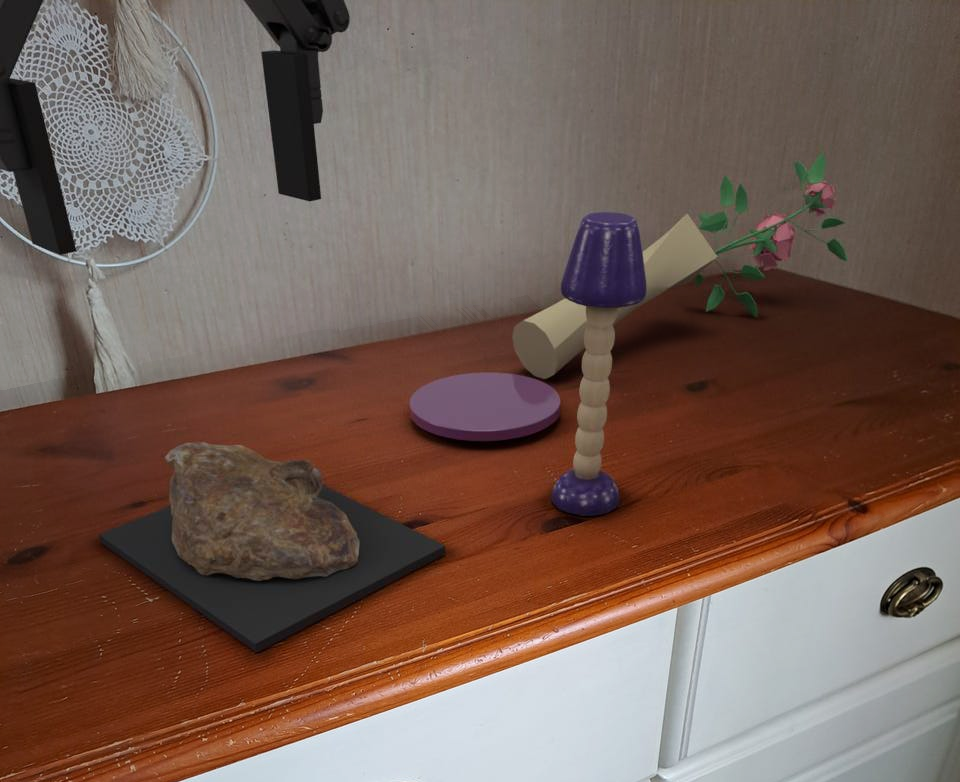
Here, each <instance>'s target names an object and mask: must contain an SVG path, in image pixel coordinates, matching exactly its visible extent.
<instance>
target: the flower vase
mask: <svg viewBox="0 0 960 782" xmlns="http://www.w3.org/2000/svg"><path fill="white" fill-rule="evenodd" d="M793 163H794V167H795V172H796V176H797V178H798V180H799V183H800V187H801V189H802V193H803V195H802V196H803V197H804V200H803V204H802V208H801V209H799V210H798V211H796V212H795V213H793V214H791V215H789V216H787V215H786V214H779V213H777V212H776V211H773V215H772V216H771V217H770V215H769V214H768V213H766V214H765V215H764V216H763V219H762V220H761V221H760V222H757V223H755V225H756V229H749V232H750V234H748V235H746V236H743V237H741V238H739V239H737V240H735V241H732V242H731V240H732V231H733V228H734V225H735V222H736V220H737V219H738V217H739V216H740V215H741V214H742V213H744V212H746V211H747V210H748V209H749V201H748V195H747V191H746V189H745V187H743V185H742V183H741V182H740V183H739V185H738V188H737V190H736V193H735V192H734V187H733V183H732V182H731V181H730V179H729V178H728V176H727V175H726V174H723V178H722V181H721V184H720V191H719V192H720V194H719V195H720V197H719V198H720V206H722V207H725V209H724V210H725V211H720V212H716V213H715V214H713V215H712V214H710V213H697V216H698V218H699V220H700V222H701V225H700V226H699V227H698V226H697V224H696V223H695V222H694V221H693V219H692V218H691V216H690V215H689V214H688V213H686V214H684V215H683V216H682V218H680V220H678V221H677V222H676V224H674V225H673V226H672V228H671V229H669V230H668V231H667V232H666V233H665V234H664V235H662V236H661V237H660V238H658V239H657V240H656V241H655V242H653V243H652V244H651V245H649V247H647V248H646V249H645V250H642V252H643V261H644V269H645V276H646V296H645V297H644V299H643V300H642V301H641V302H639V303H638V304H635V305H630V306H626V307H621V308H618V310H617V317H616V320H615V322H614V323H613V327H614V326H615V325H617V324H618V323H620V321H622V320H623V319H624V318H626V317H627V316H628V315H629V314H631V312H633V311H635V310H637V308H639V307H641V306H642V305H644V304H646V303H648V302H650V301H651V300H653V299H654V298H656V297H658V296H659V295H661V294H663V293H665V292H666V291H668V290H672V289H675V288H678V287H681V286H686V285H688V284H690V283H691V282H692V281H693V283H694V285H695V287H696V288H698V287H699V286H700V285H701V284H703V283H704V276H703V274H701V273H702V272H703V271H704V270H705V269H706V268H707V267H708V266H710V264H712V263H713V262H715V263H716V264H717V265H718V266H719V268H720V269H721V270H722V272H723V274H724V277H723V278H722V280H721V282H720V284H719V285H718V284H714V285H713V288H712V290H711V293H710V295H709V297H708V298H707V304H706V309H705V312H706V313H707V312H709V311H712V310H713V309H716V308H717V307H719V305H720V304H721V302H722V301H724V299H725V296H726V293H725V291H724V290H723V288H722V287H721V286H722V283H723V282H724V280H725V279H726V280H727V281H728V283H729V285H730V287H731V289H732V290H733V292H734V293H735V294H736V296H737V300H738V301H739V302H740V303H741V304H742V305H743V306H744V308H745V309H746V310H747V311H748V312H749V313H750V314H752V315H753V317H755V318H758V310H757V303H756V302H755V300H754V298H753V297H752V295H751V294H750V293H748V292H747V291H746V292H741V293H740V292H739V293H737V292H736V290H735V289H734V287H733V285H732V283H731V282H730V280H729V278H728V277H729V276H728V275H727V274H726V271H725V270H724V269H723V267H722V266H721V265H720V263H719V262H718V261H717V260H716V259H717V258H718V255H720V254H722V253H723V252H727V251H729V250H733V249H736V248H741V247H743V246H748V245H749V247H748V248H749V249H750V250H753V253H752V254H751V255H750V258H751V259H752V260H753V261H755V262H756V264H757V267H756V266H754V265H752V264H744V265H743V266H742V268H741V270H740V272H738V271H731V270H727V272H730V273H733V274H740V275H741V277H742V278H743V279H744V280H746V281H757V282H758V281H760V280H763V279H764V278H765V274H763V273H762V272H761V271H760V270H759V268H760V267H762V266H763V271H765V272H766V271H769V270H772V269H774V270H777V269H778V268H779V265H778V262H781V261H784V262H786V261H787V259H788V258H790V257H791V254H792V249H793V244H794V240H795V237H796V235H795V234H794V232H795V228H794V226H796V227H797V228H799V229H800V230H802V231H803V232H805V233H806V234H808V235H810V236H811V237H813V238H814V239H817V240H818V241H820V242H822V243H825V244H826V246H827V249H828V251H829V252H831V253H832V254H833V255H835V256H836V257H837V258H838V259H839V260H842V261H844V262H849V260H848V257H847V252H846V249H845V247H844V246H843V244H842V243H841V242H840V241H839V240H838V239H836V238H835V237H833V238H831V239H830V240H829V241H827V242H826V241H824V240H822V239H820V238H819V237H817V236H815V235H814V234H812V233H810V232H815V231H819V230H820V229H821V228H822V230H824V229H828V228H835V227H838V226H841V225H843V224H846V221H844V220H842V219H840V218H838V217H827V218H824V219H823V221H822V223H821V224H820V227H818V228H815V229H804V228H803V227H801V226H799V225H798V224H796V223H794V222H793V221H791V219H793V218H795V217H796V216H798V215H799V214H801V213H803V212H804V211H805V210H807V209H809V210H808V214H810V213H811V214H814V213H816V214H815V216H816V217H820V216H822V215H826V209H831V210H833V209H834V207H835V204H836V201H837V200H836V198H834V197H832V196H833V195H835V194H836V191H835V189H834V186H833V185H832V183H830V184H829V185H827V184H828V182H827V181H826V180H824V177H825V174H826V168H827V163H826V156H825V152H822V154H820V155H819V156H818V157H817V158H816V159H815V160H814V161H813V163H812V165H811V166H810V168H809V170H807V168H806V166H805V165H804V164H803V163H801V162H799V161H796V160H794V161H793ZM823 180H824V181H823ZM805 181H807V182H808V183H810V185H806V186H805V188H806V189H807V190H806V191H805V189H804V183H805ZM734 203H735V204H734ZM732 204H734V210H735V211H736V212H737V213H738V215H737V216H736V217H735V218H734V220H733V223H732V227H731V226H730V223H729V218H728V214H727V213H728V212H727V209H728V208H729V207H730V206H731V205H732ZM791 224H792V225H794V226H792V225H791ZM726 229H729V231H728V230H726ZM701 230H702V231H706V232H709V233H711V234H716V233H717V232H719V231H720V232H719V233H718V236H717V239H716V243H715V244H716V245H715V250H713V248H712V247H711V245H710V243H709V242H708V241H707V240H706V238H705V236H704V235H703V234H702V232H701ZM723 231H724V232H725V233H727V234H728V235H729V242H728V244H726V245H724V246H721V247H720V248H718V244H719V238H720V236H721V233H722V232H723ZM750 238H751V239H750ZM747 239H749V240H747ZM587 325H588V321H587V319H586V306H583V305H579V304H576V303H574V302H571V301H569V300H568V299H566V298H565V297H564V298H563V299H561V300H560V301H558V302H555V303H554V304H552V305H551V306H548V307H547V308H545V309H542V310H541V311H539V312H537V313H535V314H533V315H531V316H529V317H527V318H525V319H523V320H522V321H520V322H518V323H517V324H515V325H514V328H513V332H512V337H511V339H512V344H513V348H514V353H515V354H516V356H517V358H518V359H519V361H520V363H521V364H522V366H523V368H525V369H526V370H527V371H528V372H529V373H530V374H532V376H534V377H536V378H539V379H543V380H547V379H548V378H550V377H553V376H555V375H556V374H557V373H558V372H559V371H560V370H561V369H563V367H565V366H566V365H567V364H568V363H569V362H570V361H571V360H573V359H574V358H575V357H576V356H577V355H578V354H580V353H581V352H583V350H585V349H586V348H585V345H584V332H585V329H586V326H587Z"/></svg>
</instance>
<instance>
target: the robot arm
mask: <svg viewBox="0 0 960 782" xmlns="http://www.w3.org/2000/svg"><path fill="white" fill-rule="evenodd" d="M243 1H244V3H245V4H246V5H247V7H248V8H249V9H250V11H251V12H252V14H253V15H254V16H255V17H256V19H257V20H258V21H259V23H260V24H261V25H262V28H264V29H265V31H266V32H267V34H268V35H269V37H271V39H272V40H273V42H274V43H275V44H276V45H277V46H278V47H279V50H275V49H274V50H265V51H260V54H261V61H262V70H263V77H264V85H265V87H264V88H265V94H266V102H267V109H268V119H269V126H270V127H269V128H270V134H271V135H270V136H271V143H272V151H273V160H274V168H275V175H276V184H277V191H278V194H279V195H281V196H285V197H290V198H295V199H297V200H301V201H305V202H315V201H319V200H322V192H321V182H320V171H319V161H318V152H317V142H316V131H315V125H316V124H321V123H322V119H323V113H324V107H323V99H322V97H323V96H322V85H321V76H320V73H321V72H320V63H319V53H325V52H327V51H328V50H330V48H331V46H332V44H333V35H335V34H336V33H344V32H346V31H347V30H348V28H349V25H350V19H351V17H350V13H349V12H350V11H349V9H348V7H347V5H346V2H345V0H243ZM43 2H44V0H0V170H2V171H5V172H8V173H11V172H12V173H13V177H14V180H15V181H14V182H15V184H16V187H17V192H18V197H19V199H20V204H21V206H22V210H23V213H24V218H25V222H26V224H27V229H28V232H29V236H30V239H31V243H32V245H35V246H37V247H39V248H42V249H44V250H47V251H48V252H52V253H55V254H57V255H59V256H62V255H67V254H71V253H76V252H77V248H76V243H75V240H74V235H73V231H72V228H71V227H72V226H71V223H70V220H69V215H68V211H67V207H66V202H65V198H64V195H63V191H62V186H61V182H60V179H59V178H60V177H59V175H58V170H57V166H56V162H55V158H54V154H53V150H52V146H51V143H50V138H49V134H48V130H47V126H46V121H45V117H44V113H43V109H42V105H41V102H40V97H39V93H38V89H37V85H36V82H33V81H29V80H23V79H17V78H12V74H13V72H14V69H15V67H16V65H17V64H18V63H17V62H18V61H19V58H20V56H21V53H22V52H23V48H24V46H25V44H26V42H27V39H28V37H29V34H30V32H31V30H32V28H33V26H34V23H35V20H36V18H37V16H38V15H39V12H40V10H41V7H42V5H43Z"/></svg>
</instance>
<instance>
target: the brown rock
mask: <svg viewBox="0 0 960 782" xmlns="http://www.w3.org/2000/svg"><path fill="white" fill-rule="evenodd" d="M164 459H165V461H166V463H167V465H168V466H169V467H170V468H171V467H174V470H173V473H172V475H171V477H170V483H169V484H170V486H169V490H168V499H169V500H168V501H169V503H170V506H171V514H172V516H173V521H172V543H173V545H174V547H175V549H176V551H177V553H178V555H179V557H180V558H182V559H183V560H184V561H186V562H187V563H188V564H189V565H193V566H194V567H195V568H196V570H197V571H198V572H199V573H200V574H202V575H211V574H214V573H225V574H228V575H232V576H233V577H235V578H248V579H251V580H257V581H261V580H267V579H270V578H272V577H278V576H280V577H285V578H290V579H300V578H305V577H314V576H325V577H326V576H329V575H330V574H332V573H334V572H336V571H339V570H344V569H348V568H350V567H352V566H354V565H355V564H356V563H357V559H358V556H359V543H360V541H359V539H358V537H357V532H356V531H355V530H354V529H353V527H352V525H351V524H350V522H349V520H348V518H347V515H346V514H345V513H344V512H342V511H341V510H340V509H339V508H338V507H336V506H335V505H334V504H332V503H330V502H328V501H325V500H323V499H320V498H319V497H318V495H319V493H320V491H321V488H322V484H323V482H324V481H323V473H322V472H321V471H320V469H319V468H317V467H314V466H313V464H312V462H311V460H310V459H292V460H286V461H277V460H276V461H275V460H270V459H268V458H265V457H263V456H262V455H261V454H260V453H259V452H258V451H254V450H252V448H251V449H250V448H248V447H246V446H244V445H242V444H241V445H240V444H236V445H235V444H233V445H224V444H223V445H222V444H211V443H208V442H204V441H202V442H185V443H183V444H179V445H178V446H176V447H174V448H173V449H170V450H169V452H168V453H166V455H165V457H164Z"/></svg>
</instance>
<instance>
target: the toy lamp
mask: <svg viewBox="0 0 960 782" xmlns="http://www.w3.org/2000/svg"><path fill="white" fill-rule="evenodd" d="M641 239H642V238H641V232H640V226H639V223H638V221H637V219H636V218H635V217H633V216H632V215H629V214H626V213H622V212H616V211H615V212H613V211H599V212H598V211H597V212H591V213H588V214H585V216H584V217H583V218H582V219H581V221H580V223H579V226H578V228H577V231H576V234H575V238H574V241H573V244H572V247H571V249H570V253H569V255H568V260H567V262H566V265H565V269H564V272H563V275H562V279H561V282H560V293H561V295H562V296H563V297H564V299H565V298H566V299H568V300H569V301H571V302H574V303H576V304H579V305H583V306H586V319H587V321H588V325H587V326H586V329H585V332H584V345H585V348H584V349H585V351H584V353H583V355H582V358H581V372H582V374H583V377H582V379H581V381H580V384H579V390H578V391H579V392H578V393H579V394H578V395H579V399H580V403H579V405H578V408H577V412H576V419H577V425H578V428H577V429H576V433H575V437H574V444H575V448H576V451H575V453H574V455H573V460H572V466H573V469H570V470H568V471H566V472H565V473H563V474H562V475H560V477H559V478H558V479H557V480H556V482H555V483H554V486H553V488H552V490H551V495H550V500H551V502H552V504H554V506H556V508H558V510H560V511H563V512H565V513H568V514H570V515H574V516H575V515H576V516H582V517H586V516H588V517H591V516H593V517H595V516H600V515H604V514H607V513H610V512H611V511H613V510H615V509H616V508H617V507H618V506H619V504H620V493H619V489H618V486H617V484H616V482H615V480H614V479H613V478H612V477H611V476H610V474H608V473H607V472H605V471H603V470H601V468H602V462H603V461H602V453H601V451H602V449H603V447H604V443H605V431H604V426H605V425H606V422H607V418H608V407H607V404H606V403H607V401H608V400H609V398H610V397H609V396H610V392H611V386H610V385H611V384H610V379H609V376H610V374H611V372H612V367H613V356H612V352H611V351H612V350H613V347H614V345H615V340H616V339H615V338H616V332H615V328H614V326H613V323H614V322H615V320H616V317H617V310H618V308H621V307H626V306H630V305H635V304H638V303H639V302H641V301H642V300H643V299H644V297H645V296H646V276H645V269H644V261H643V246H642V240H641Z"/></svg>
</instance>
